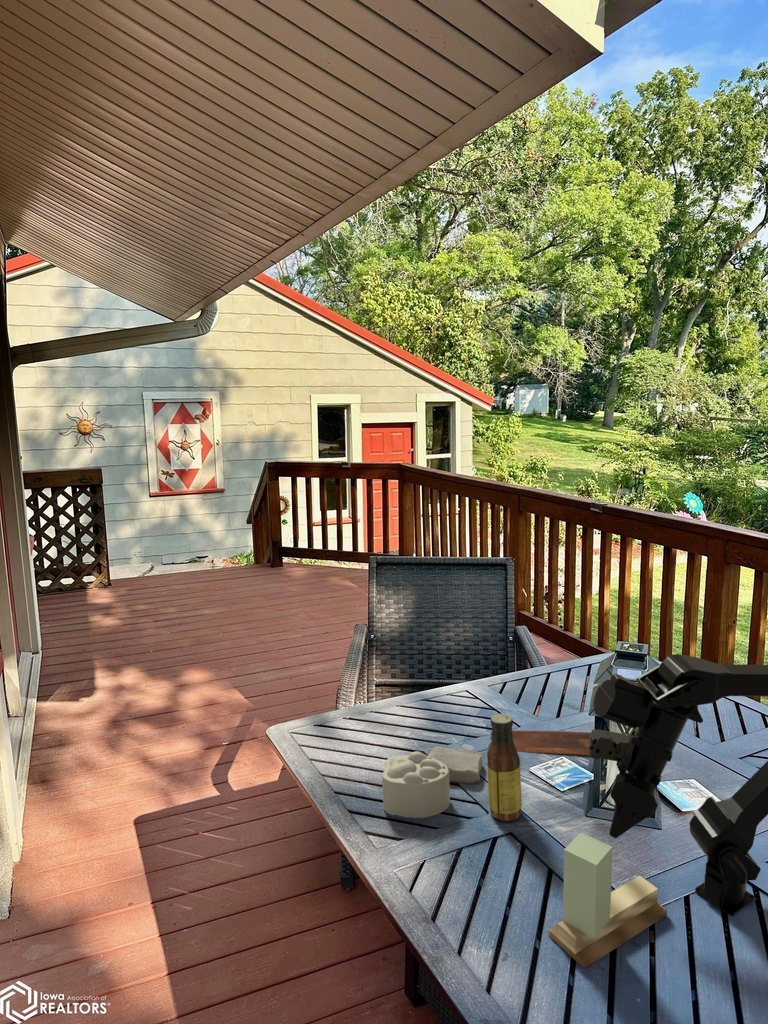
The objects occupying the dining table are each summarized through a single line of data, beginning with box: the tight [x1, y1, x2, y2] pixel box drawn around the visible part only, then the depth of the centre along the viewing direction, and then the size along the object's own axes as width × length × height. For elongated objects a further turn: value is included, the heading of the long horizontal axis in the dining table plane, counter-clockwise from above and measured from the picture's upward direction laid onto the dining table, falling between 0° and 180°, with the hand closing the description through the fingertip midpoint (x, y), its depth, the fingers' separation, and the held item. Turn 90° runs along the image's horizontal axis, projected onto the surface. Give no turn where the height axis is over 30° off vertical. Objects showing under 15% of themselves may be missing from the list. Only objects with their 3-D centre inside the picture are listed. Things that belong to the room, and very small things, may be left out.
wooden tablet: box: [489, 729, 591, 757], centre depth 158 cm, size 26×2×10 cm
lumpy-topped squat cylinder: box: [381, 750, 451, 819], centre depth 138 cm, size 10×13×9 cm
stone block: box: [427, 745, 483, 785], centre depth 149 cm, size 12×5×10 cm
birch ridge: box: [548, 875, 668, 969], centre depth 106 cm, size 18×7×4 cm, turn 121°
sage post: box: [562, 832, 613, 938], centre depth 102 cm, size 5×5×12 cm
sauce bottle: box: [486, 713, 523, 822], centre depth 132 cm, size 6×6×20 cm
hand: (614, 823), depth 107 cm, fingers open, 9 cm apart
